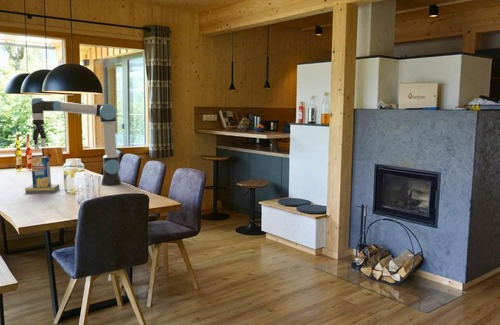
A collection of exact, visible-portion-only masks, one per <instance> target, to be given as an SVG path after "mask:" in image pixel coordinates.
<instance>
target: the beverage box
mask: <svg viewBox="0 0 500 325" xmlns="http://www.w3.org/2000/svg"><path fill="white" fill-rule="evenodd" d="M50 158H51V157H50V156H33V157H30V162H31V163H30V164H31V176H32V177H31V179H32V185H33V187H49V186H51V185H52V179H51V178H52V177H51V176H52V175H51V174H52V173H51V161H50V160H51V159H50Z"/></svg>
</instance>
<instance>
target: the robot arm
mask: <svg viewBox="0 0 500 325" xmlns="http://www.w3.org/2000/svg"><path fill="white" fill-rule="evenodd" d="M30 105H31V117H32V125H33V132H32V141H33V143H34V150H39V149H40V147H41V148H46V139H47V135H46V131H45V126H44V125H45V120H44V119H45V117H44V112H62V113H72V114H80V115H81V114H83V115H91V116H92V115H93V116H95V117H98V118H99V120H100V121H99V122H100V123H101V124H102V128H103V132H102V133H103V144H104V145H103V146H104V155H103V156H102V169H103V172H102V173H103V175H102V179H101V185H102V186H117V185H118V186H119V185H120V184H122V181H121V177H120V175H119V171H120V169H121V164H120V156H119V154H117V141H116V140H117V138H116V129H115V128H116V127H115V124H116V122H117V109H116V108H115V106H114V105H113V104H110V103H105V104H104V103H103V104H97V103H96V104H95V105H94V104H87V103H86V104H85V103H75V102H67V101H66V102H65V101H60V100H44V99H43V98H42V97H32V98H31V104H30ZM39 136H40V145H39Z"/></svg>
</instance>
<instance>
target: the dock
mask: <svg viewBox="0 0 500 325" xmlns="http://www.w3.org/2000/svg"><path fill="white" fill-rule="evenodd" d="M24 188H25V189H24V190H25V194H30V195H31V194H55V193H56V192H58V191H60V184H55V183H54V184H51V186H49V187H33V184H31V185H28V186H27V187H24Z"/></svg>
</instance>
